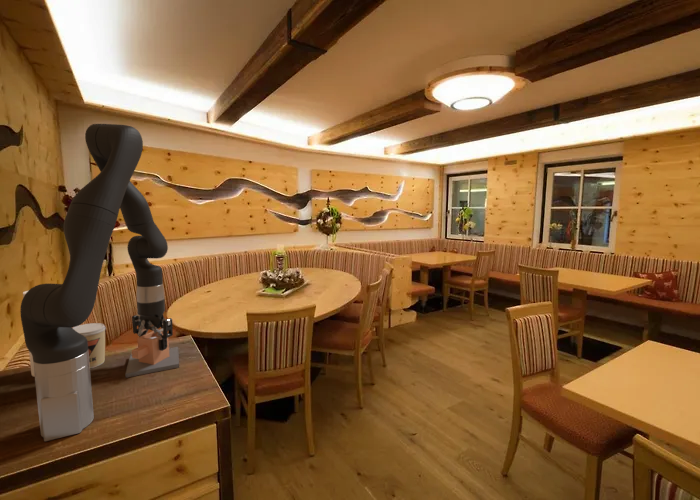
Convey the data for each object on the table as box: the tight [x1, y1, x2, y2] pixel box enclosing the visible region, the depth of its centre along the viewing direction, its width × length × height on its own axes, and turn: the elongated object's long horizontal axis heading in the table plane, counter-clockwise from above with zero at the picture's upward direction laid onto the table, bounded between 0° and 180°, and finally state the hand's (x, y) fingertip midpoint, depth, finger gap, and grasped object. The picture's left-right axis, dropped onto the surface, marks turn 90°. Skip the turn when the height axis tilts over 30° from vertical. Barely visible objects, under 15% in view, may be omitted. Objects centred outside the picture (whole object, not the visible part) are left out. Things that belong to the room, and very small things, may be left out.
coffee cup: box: [72, 322, 106, 369], centre depth 101 cm, size 9×9×12 cm
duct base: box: [124, 337, 180, 378], centre depth 104 cm, size 14×14×8 cm
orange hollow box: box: [131, 330, 170, 365], centre depth 102 cm, size 6×10×8 cm, turn 164°
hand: (153, 347), depth 103 cm, fingers open, 7 cm apart
